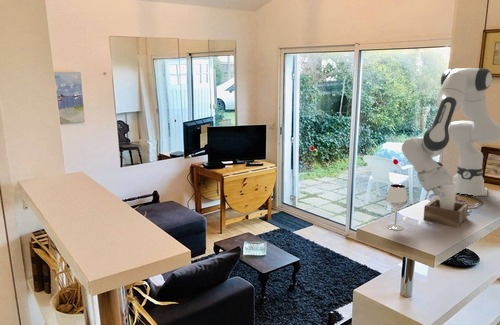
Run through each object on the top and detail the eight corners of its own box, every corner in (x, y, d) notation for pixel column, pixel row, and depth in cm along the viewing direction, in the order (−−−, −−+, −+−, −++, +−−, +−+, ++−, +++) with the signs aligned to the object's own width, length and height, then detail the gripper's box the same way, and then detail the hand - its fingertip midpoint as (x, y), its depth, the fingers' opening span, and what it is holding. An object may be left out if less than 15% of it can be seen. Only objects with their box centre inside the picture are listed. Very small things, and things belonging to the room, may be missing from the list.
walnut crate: (433, 211, 183) (434, 198, 182) (466, 218, 174) (468, 204, 173) (423, 219, 173) (424, 205, 171) (458, 227, 164) (459, 212, 162)
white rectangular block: (451, 212, 177) (452, 180, 174) (457, 217, 171) (459, 185, 167) (435, 213, 178) (436, 181, 175) (441, 218, 171) (442, 186, 168)
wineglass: (380, 227, 165) (383, 185, 161) (391, 222, 170) (393, 182, 166) (398, 232, 159) (401, 189, 155) (409, 227, 164) (412, 186, 160)
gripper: (421, 168, 168) (441, 195, 163) (443, 162, 181) (463, 187, 175) (410, 177, 172) (430, 203, 167) (433, 170, 185) (452, 194, 179)
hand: (447, 195), depth 171 cm, fingers open, 8 cm apart
